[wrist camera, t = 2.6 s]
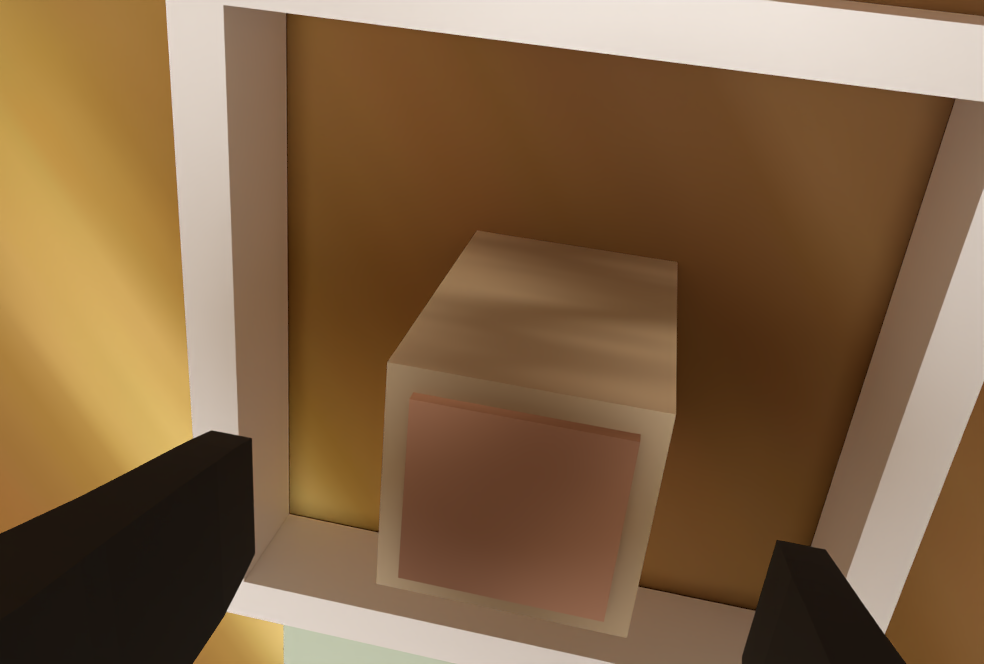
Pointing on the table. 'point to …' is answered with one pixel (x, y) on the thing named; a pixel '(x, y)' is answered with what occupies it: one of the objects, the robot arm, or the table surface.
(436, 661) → the sage tile
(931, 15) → the white bin
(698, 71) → the table surface
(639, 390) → the birch block
